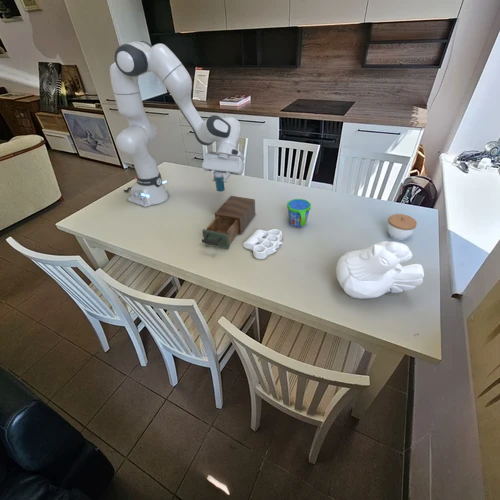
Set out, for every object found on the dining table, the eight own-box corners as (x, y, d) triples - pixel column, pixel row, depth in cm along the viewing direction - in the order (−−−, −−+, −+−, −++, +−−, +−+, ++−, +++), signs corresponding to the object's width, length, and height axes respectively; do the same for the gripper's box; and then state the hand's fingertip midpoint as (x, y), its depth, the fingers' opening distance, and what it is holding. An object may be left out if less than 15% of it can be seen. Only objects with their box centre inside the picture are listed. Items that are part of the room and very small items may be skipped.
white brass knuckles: (260, 230, 128) (289, 239, 122) (238, 251, 116) (269, 263, 110) (260, 223, 126) (289, 233, 120) (238, 245, 114) (269, 256, 108)
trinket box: (409, 230, 123) (416, 212, 117) (412, 245, 115) (419, 226, 109) (383, 227, 126) (389, 209, 120) (384, 240, 118) (390, 222, 112)
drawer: (223, 256, 113) (221, 242, 109) (198, 250, 117) (196, 237, 113) (243, 227, 129) (242, 215, 124) (221, 223, 132) (219, 211, 128)
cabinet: (241, 234, 126) (240, 218, 121) (216, 229, 130) (214, 213, 125) (255, 214, 138) (254, 199, 133) (232, 210, 142) (231, 195, 137)
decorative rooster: (322, 282, 92) (386, 255, 72) (334, 248, 101) (394, 216, 80) (376, 323, 96) (450, 309, 76) (382, 287, 105) (451, 265, 85)
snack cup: (284, 214, 137) (285, 196, 131) (305, 213, 137) (307, 195, 131) (288, 233, 125) (289, 214, 119) (312, 232, 125) (314, 212, 119)
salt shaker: (215, 191, 132) (212, 175, 127) (218, 187, 135) (216, 171, 130) (222, 192, 131) (220, 176, 126) (226, 188, 134) (224, 172, 129)
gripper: (203, 148, 131) (196, 176, 130) (243, 152, 124) (236, 181, 124) (209, 154, 137) (202, 181, 136) (247, 158, 130) (240, 186, 130)
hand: (219, 181), depth 130 cm, fingers closed on salt shaker, 4 cm apart
